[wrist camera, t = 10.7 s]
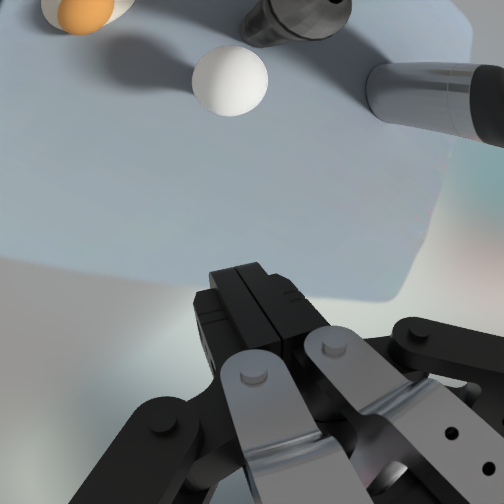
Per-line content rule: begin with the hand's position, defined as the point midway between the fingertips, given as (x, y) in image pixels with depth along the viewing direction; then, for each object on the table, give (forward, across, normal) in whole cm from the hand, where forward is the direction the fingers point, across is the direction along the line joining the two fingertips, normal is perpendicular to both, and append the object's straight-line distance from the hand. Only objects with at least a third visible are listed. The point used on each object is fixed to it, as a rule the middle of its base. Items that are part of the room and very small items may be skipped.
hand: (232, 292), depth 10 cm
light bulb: (+27, -6, -8) cm, 29 cm away
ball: (+24, +7, -19) cm, 31 cm away
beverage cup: (+27, -12, -15) cm, 33 cm away
